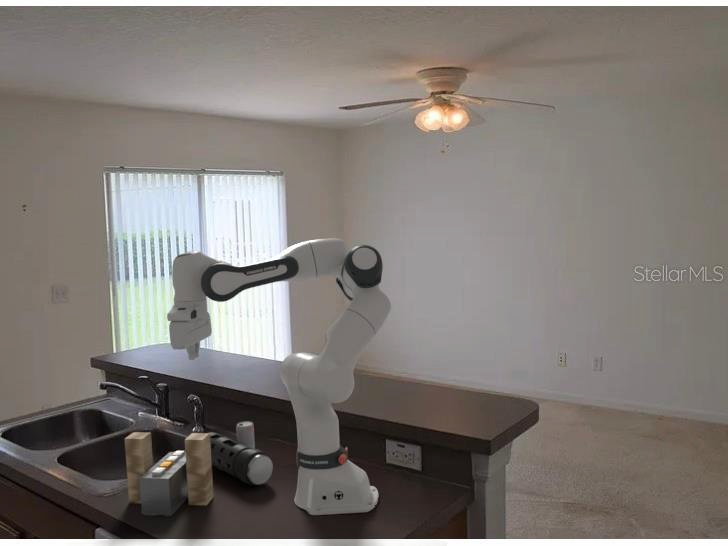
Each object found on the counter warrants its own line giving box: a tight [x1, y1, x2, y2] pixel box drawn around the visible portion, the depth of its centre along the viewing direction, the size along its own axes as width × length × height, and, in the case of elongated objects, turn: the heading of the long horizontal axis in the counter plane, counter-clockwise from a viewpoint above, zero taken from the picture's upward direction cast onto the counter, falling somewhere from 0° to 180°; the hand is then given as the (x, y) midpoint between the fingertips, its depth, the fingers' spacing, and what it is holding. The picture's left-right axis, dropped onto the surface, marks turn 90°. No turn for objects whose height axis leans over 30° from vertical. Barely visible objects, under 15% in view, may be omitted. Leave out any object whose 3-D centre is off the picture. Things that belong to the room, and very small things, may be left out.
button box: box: [139, 450, 188, 517], centre depth 175 cm, size 8×18×11 cm, turn 172°
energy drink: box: [235, 420, 256, 449], centre depth 200 cm, size 5×5×12 cm
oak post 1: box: [124, 431, 154, 502], centre depth 175 cm, size 5×5×18 cm
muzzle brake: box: [209, 431, 274, 486], centre depth 190 cm, size 10×28×10 cm, turn 44°
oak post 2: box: [184, 432, 214, 506], centre depth 173 cm, size 5×5×18 cm
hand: (193, 358), depth 180 cm, fingers closed
